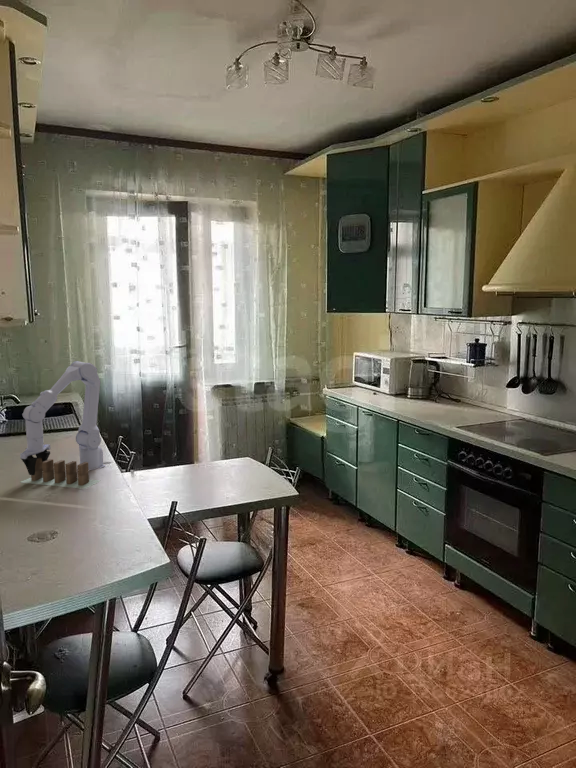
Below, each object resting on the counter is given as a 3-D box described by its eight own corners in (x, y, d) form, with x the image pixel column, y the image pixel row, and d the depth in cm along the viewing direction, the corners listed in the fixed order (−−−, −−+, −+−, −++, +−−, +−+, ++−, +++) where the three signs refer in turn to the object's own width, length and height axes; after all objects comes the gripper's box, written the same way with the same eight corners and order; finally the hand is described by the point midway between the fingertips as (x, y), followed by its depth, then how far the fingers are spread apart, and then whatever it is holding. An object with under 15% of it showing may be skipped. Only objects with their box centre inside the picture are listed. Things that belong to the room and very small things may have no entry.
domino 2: (50, 478, 222) (49, 459, 221) (54, 478, 222) (53, 459, 221) (43, 481, 218) (42, 462, 217) (46, 482, 217) (45, 462, 216)
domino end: (85, 481, 218) (84, 462, 217) (89, 482, 218) (88, 462, 217) (78, 485, 214) (77, 465, 213) (82, 485, 214) (81, 465, 213)
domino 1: (39, 477, 223) (38, 458, 222) (42, 477, 223) (41, 458, 222) (31, 480, 219) (30, 461, 218) (35, 481, 219) (33, 461, 218)
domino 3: (62, 479, 221) (61, 460, 220) (65, 479, 220) (64, 460, 219) (54, 482, 217) (53, 463, 216) (58, 483, 216) (57, 463, 215)
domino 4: (73, 480, 220) (72, 461, 218) (77, 480, 219) (76, 461, 218) (66, 484, 215) (65, 464, 214) (70, 484, 215) (69, 464, 214)
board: (37, 475, 227) (37, 474, 227) (100, 482, 220) (100, 480, 220) (19, 483, 217) (19, 482, 217) (85, 490, 210) (85, 488, 210)
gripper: (38, 432, 227) (40, 466, 229) (12, 441, 213) (14, 477, 215) (54, 433, 225) (56, 467, 227) (28, 442, 211) (31, 478, 213)
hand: (37, 472), depth 221 cm, fingers open, 5 cm apart
